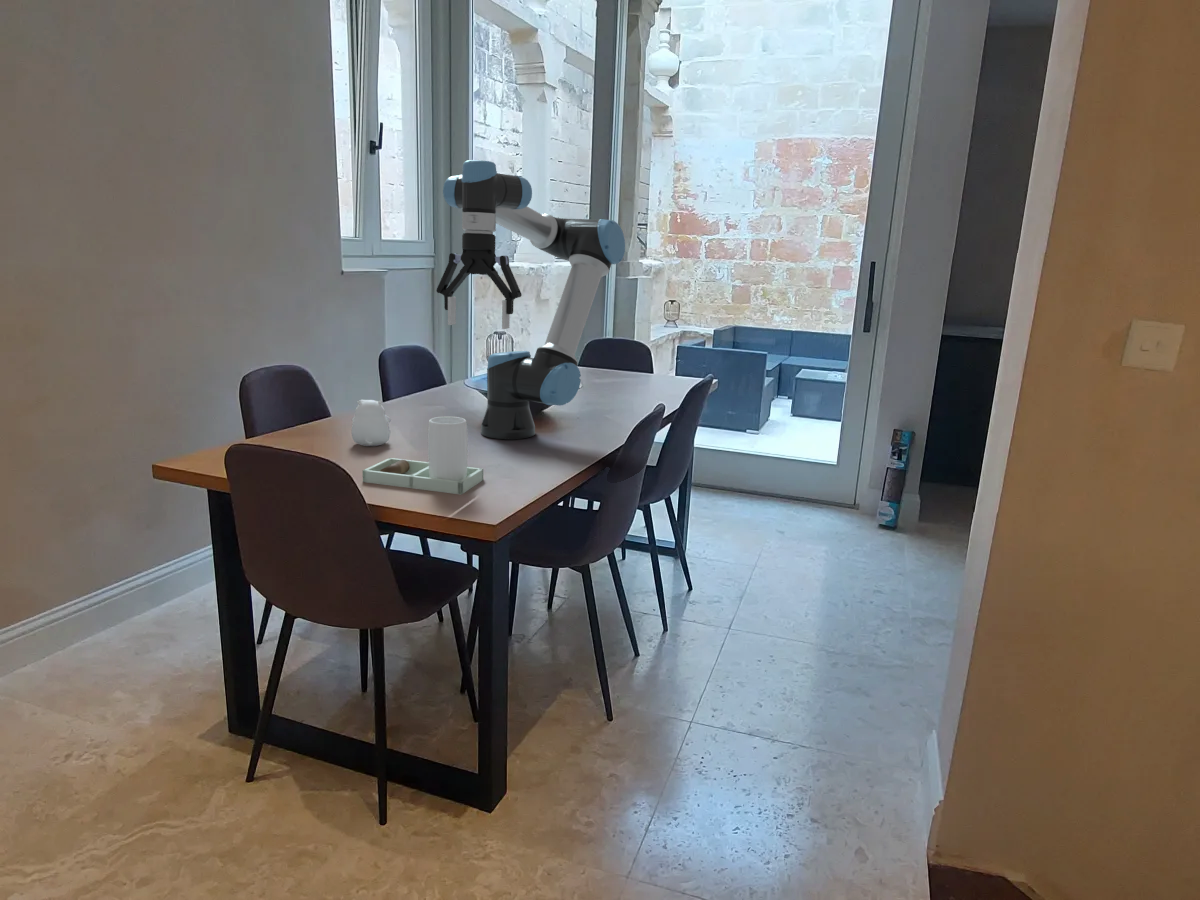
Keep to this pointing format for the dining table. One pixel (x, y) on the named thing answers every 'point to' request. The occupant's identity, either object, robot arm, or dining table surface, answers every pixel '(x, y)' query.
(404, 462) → the dowel
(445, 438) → the cup
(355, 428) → the figurine
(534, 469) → the dining table surface
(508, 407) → the robot arm
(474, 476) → the caddy
